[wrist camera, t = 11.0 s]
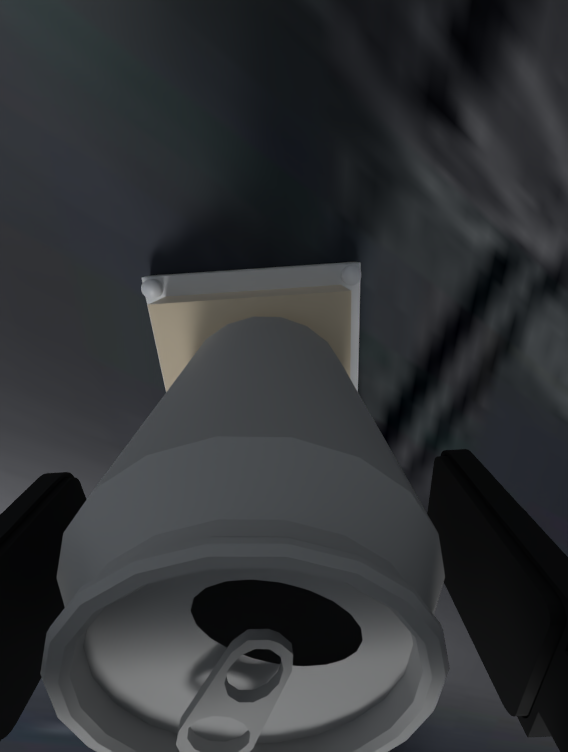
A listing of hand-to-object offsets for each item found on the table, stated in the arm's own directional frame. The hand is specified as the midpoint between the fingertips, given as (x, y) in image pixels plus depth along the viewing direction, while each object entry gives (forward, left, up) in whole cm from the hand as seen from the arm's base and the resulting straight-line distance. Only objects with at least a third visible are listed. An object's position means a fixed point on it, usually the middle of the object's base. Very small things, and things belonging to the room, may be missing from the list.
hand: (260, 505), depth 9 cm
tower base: (0, 0, -12) cm, 12 cm away
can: (0, 0, -8) cm, 8 cm away
